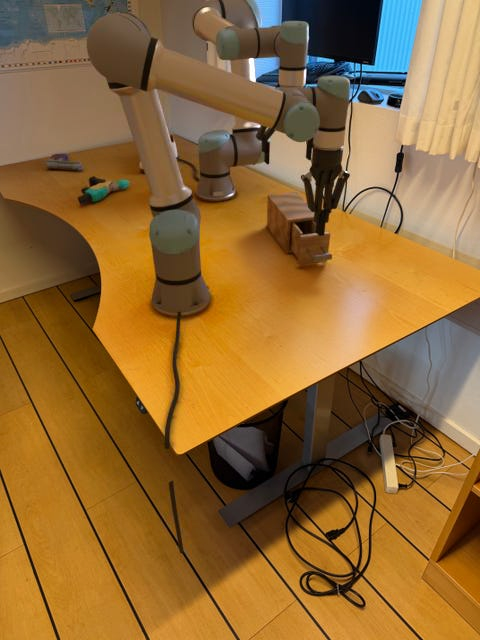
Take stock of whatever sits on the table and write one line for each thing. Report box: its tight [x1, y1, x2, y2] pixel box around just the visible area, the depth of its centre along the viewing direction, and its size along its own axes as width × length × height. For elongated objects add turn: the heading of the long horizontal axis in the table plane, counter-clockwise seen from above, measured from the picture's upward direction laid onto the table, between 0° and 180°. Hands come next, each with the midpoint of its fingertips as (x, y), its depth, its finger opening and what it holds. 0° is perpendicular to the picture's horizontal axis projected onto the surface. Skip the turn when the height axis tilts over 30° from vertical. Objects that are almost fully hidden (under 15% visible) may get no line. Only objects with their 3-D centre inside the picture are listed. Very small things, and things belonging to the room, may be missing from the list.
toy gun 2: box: [77, 175, 130, 205], centre depth 186 cm, size 4×26×15 cm
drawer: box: [289, 220, 333, 266], centre depth 142 cm, size 26×9×9 cm, turn 15°
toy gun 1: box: [44, 152, 84, 171], centre depth 216 cm, size 4×19×15 cm
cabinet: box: [266, 191, 314, 254], centre depth 153 cm, size 20×10×11 cm, turn 15°
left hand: (319, 233), depth 131 cm, fingers closed
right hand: (287, 161), depth 147 cm, fingers open, 13 cm apart
